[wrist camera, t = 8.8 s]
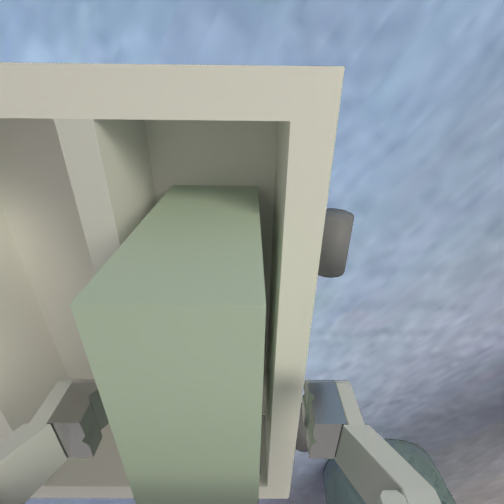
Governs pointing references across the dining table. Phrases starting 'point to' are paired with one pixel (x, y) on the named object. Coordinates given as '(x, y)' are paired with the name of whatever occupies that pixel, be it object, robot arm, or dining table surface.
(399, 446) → the gray green embossed cup
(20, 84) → the divided cream tray
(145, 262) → the long pale green block
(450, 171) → the dining table surface
